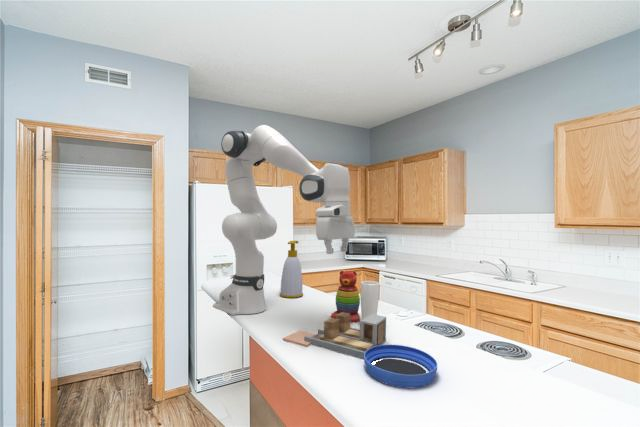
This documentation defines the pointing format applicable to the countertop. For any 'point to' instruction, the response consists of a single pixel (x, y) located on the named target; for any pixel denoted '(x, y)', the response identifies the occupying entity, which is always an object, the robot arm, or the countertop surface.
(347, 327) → the strip far
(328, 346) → the lane board
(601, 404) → the countertop surface
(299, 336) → the coaster
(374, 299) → the drinking glass
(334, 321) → the strip near
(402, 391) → the countertop surface
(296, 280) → the soap bottle
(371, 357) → the blue round shallow tray
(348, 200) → the robot arm
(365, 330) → the walnut block
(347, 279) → the stacking bear
